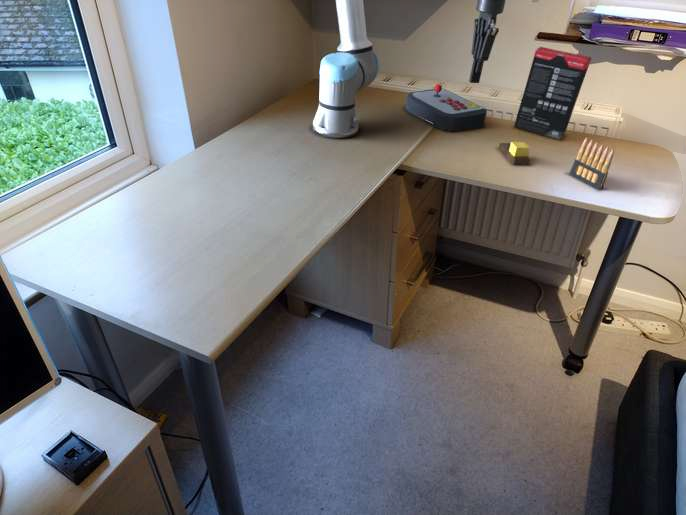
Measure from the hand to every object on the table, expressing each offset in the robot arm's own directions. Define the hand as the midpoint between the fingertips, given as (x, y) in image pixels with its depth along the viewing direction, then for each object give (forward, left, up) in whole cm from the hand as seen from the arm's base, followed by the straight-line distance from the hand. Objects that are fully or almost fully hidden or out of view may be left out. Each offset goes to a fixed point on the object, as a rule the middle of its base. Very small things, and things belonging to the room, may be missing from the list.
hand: (474, 82), depth 154 cm
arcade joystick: (-25, +1, -21) cm, 32 cm away
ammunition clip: (+26, +30, -21) cm, 45 cm away
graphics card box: (-11, +33, -21) cm, 40 cm away
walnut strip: (+9, +15, -20) cm, 27 cm away
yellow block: (+11, +15, -18) cm, 26 cm away
